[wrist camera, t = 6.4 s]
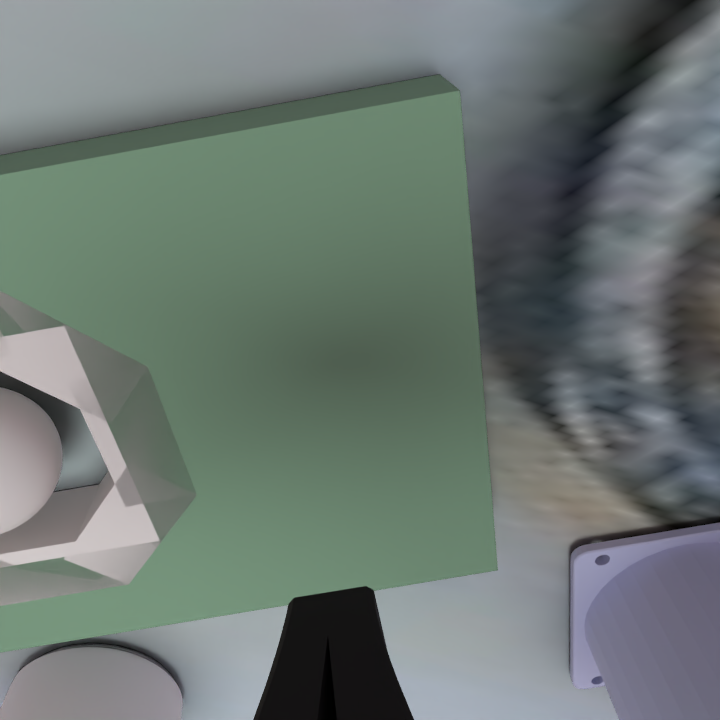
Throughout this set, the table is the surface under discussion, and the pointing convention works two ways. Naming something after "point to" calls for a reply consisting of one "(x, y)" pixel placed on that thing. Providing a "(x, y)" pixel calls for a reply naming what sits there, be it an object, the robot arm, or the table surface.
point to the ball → (26, 459)
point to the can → (93, 687)
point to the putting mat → (248, 361)
